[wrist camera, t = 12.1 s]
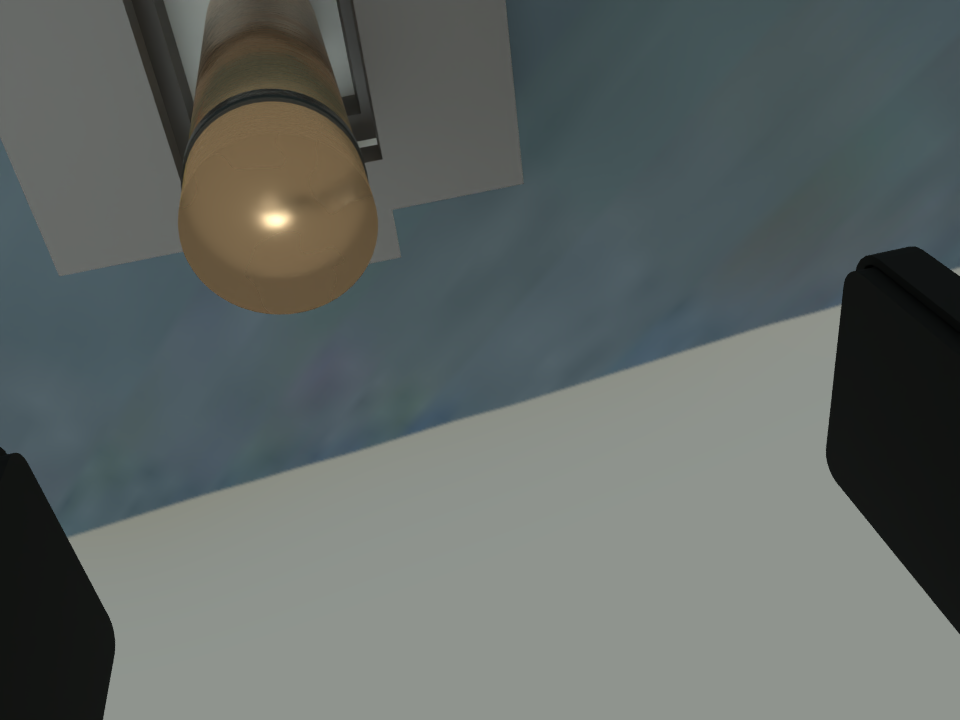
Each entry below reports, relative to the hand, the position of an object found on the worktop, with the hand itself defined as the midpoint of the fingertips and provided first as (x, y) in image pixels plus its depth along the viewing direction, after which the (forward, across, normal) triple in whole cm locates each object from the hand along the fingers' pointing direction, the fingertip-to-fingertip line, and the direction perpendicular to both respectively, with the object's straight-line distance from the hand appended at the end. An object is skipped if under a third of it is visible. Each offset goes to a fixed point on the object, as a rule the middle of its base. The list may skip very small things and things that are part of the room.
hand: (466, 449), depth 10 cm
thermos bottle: (+28, +3, +1) cm, 28 cm away
